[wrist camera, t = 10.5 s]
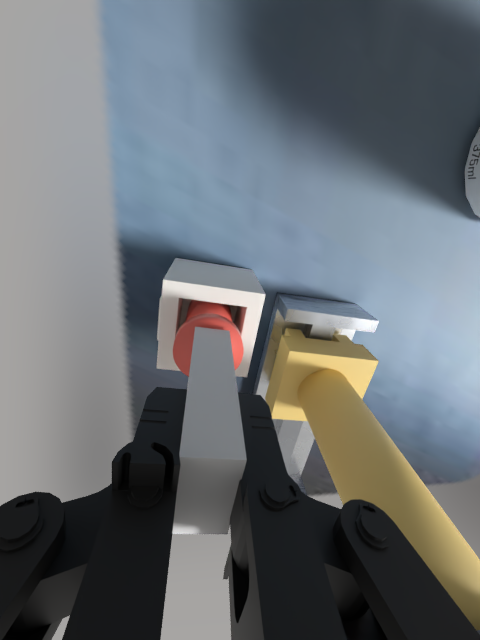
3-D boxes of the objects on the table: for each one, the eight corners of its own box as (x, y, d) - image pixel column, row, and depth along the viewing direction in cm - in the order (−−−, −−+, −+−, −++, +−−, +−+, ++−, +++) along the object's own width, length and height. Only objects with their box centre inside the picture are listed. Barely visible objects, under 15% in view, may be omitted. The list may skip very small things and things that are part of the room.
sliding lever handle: (277, 326, 19) (450, 674, 5) (354, 336, 20) (675, 656, 6) (262, 387, 21) (359, 756, 7) (332, 393, 22) (538, 733, 8)
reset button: (185, 283, 16) (175, 315, 12) (239, 291, 17) (249, 325, 12) (180, 332, 17) (169, 378, 13) (230, 338, 18) (237, 384, 14)
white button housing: (172, 257, 18) (158, 278, 13) (252, 269, 18) (265, 294, 14) (166, 327, 20) (152, 368, 15) (239, 336, 20) (247, 377, 16)
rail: (276, 292, 19) (287, 308, 17) (356, 304, 20) (379, 321, 18) (234, 468, 26) (237, 500, 23) (295, 471, 27) (304, 502, 24)
